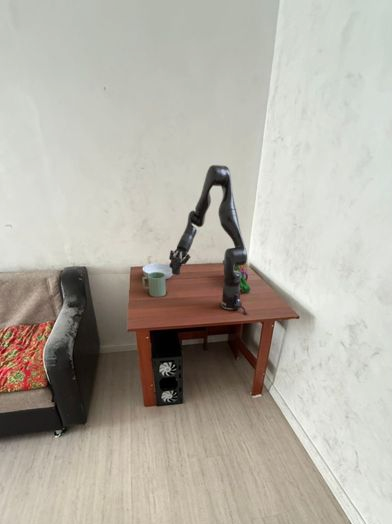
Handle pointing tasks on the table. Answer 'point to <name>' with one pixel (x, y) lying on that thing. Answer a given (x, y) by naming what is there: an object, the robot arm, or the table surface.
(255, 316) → the table surface
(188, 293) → the table surface
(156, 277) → the green coffee mug
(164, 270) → the serving bowl
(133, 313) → the table surface
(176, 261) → the remote
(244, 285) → the bouquet
